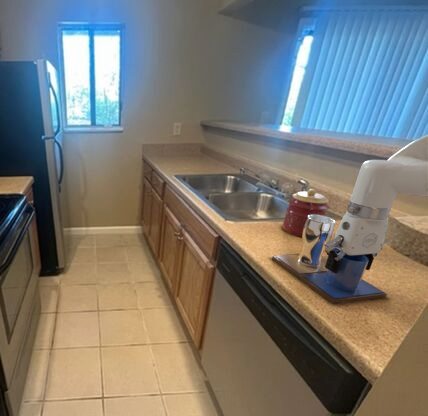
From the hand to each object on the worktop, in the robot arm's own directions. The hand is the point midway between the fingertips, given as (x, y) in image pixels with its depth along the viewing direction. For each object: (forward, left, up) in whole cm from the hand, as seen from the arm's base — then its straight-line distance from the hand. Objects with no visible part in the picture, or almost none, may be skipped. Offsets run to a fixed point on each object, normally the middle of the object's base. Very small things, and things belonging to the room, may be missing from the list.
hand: (346, 268), depth 74 cm
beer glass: (0, -11, -5) cm, 12 cm away
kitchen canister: (-18, -34, -6) cm, 39 cm away
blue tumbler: (0, 0, -5) cm, 5 cm away
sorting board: (0, -6, -6) cm, 8 cm away
